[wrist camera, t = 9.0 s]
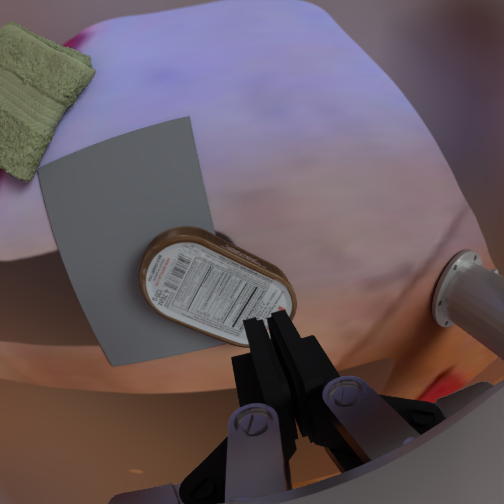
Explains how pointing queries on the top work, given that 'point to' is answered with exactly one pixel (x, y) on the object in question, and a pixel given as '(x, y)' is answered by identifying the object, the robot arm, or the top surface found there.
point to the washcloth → (34, 95)
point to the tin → (211, 284)
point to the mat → (126, 231)
